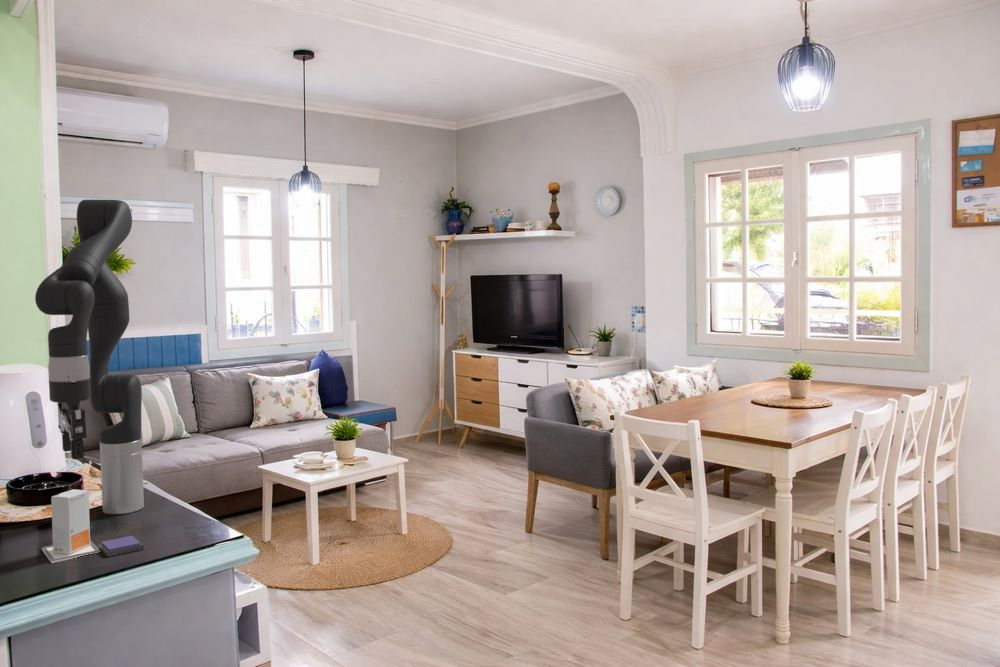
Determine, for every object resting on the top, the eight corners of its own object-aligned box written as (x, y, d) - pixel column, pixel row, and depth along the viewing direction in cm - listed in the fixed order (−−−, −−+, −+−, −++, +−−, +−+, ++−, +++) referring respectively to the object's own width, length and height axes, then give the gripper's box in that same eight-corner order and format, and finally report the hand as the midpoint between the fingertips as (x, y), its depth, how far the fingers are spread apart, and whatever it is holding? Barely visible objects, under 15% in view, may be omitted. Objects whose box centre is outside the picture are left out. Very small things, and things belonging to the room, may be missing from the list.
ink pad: (99, 548, 169) (98, 541, 169) (134, 541, 173) (133, 534, 173) (107, 557, 163) (107, 550, 163) (143, 549, 168) (143, 543, 168)
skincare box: (70, 555, 163) (67, 497, 162) (52, 553, 164) (49, 496, 164) (91, 545, 169) (89, 490, 168) (74, 543, 170) (72, 488, 169)
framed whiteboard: (42, 549, 168) (42, 547, 168) (89, 540, 173) (89, 538, 173) (51, 563, 160) (51, 560, 160) (100, 553, 166) (100, 550, 166)
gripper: (42, 375, 168) (46, 451, 169) (55, 383, 157) (59, 464, 158) (81, 372, 173) (85, 446, 174) (97, 379, 162) (101, 458, 163)
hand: (73, 454), depth 166 cm, fingers open, 8 cm apart
